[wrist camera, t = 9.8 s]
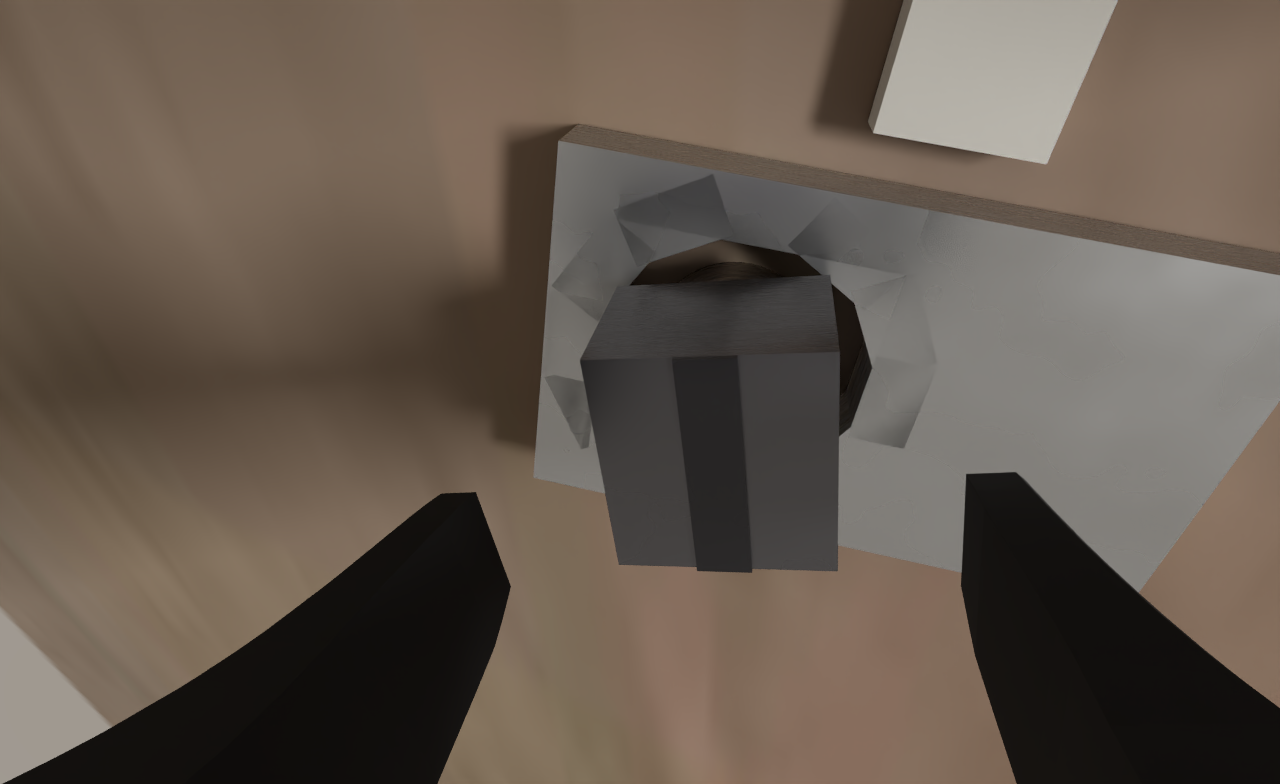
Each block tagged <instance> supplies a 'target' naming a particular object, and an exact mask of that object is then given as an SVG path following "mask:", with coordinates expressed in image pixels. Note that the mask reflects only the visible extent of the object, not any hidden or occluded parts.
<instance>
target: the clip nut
mask: <svg viewBox="0 0 1280 784" xmlns="http://www.w3.org/2000/svg"><path fill="white" fill-rule="evenodd" d="M580 364H581V370H582V375H583V380H584V385H585V391H586V396H587V401H588V406H589V411H590V417H591V422H592V427H593V432H594V437H595V443H596V448H597V453H598V458H599V463H600V469H601V474H602V479H603V484H604V489H605V495H606V500H607V505H608V510H609V516H610V521H611V526H612V531H613V536H614V542H615V547H616V552H617V557H618V562H619V565H647V566H680V567H697V571H715V572H748V573H752V569H780V570H813V571H838V488H839V396H840V348H839V340H838V332H837V324H836V317H835V309H834V301H833V293H832V285H831V277H830V275H819V276H800V277H783V276H781V275H780V274H778V273H776V272H774V271H772V270H770V269H767V268H765V267H762V266H758V265H754V264H750V263H742V262H727V263H719V264H715V265H711V266H707V267H704V268H702V269H699V270H697V271H695V272H693V273H691V274H690V275H688V276H687V277H685V278H684V279H683V280H681V281H680V282H679V283H671V284H652V285H634V286H617V288H616V290H615V292H614V294H613V295H612V297H611V299H610V301H609V303H608V305H607V307H606V309H605V311H604V313H603V315H602V317H601V319H600V321H599V323H598V325H597V327H596V329H595V331H594V333H593V335H592V337H591V339H590V341H589V343H588V345H587V347H586V349H585V351H584V353H583V355H582V357H581V359H580Z"/></svg>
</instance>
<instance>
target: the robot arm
mask: <svg viewBox="0 0 1280 784" xmlns="http://www.w3.org/2000/svg"><path fill="white" fill-rule="evenodd" d="M961 587H962V593H963V598H964V603H965V608H966V613H967V618H968V624H969V628H970V633H971V638H972V643H973V648H974V652H975V657H976V660H977V663H978V666H979V669H980V672H981V675H982V679H983V682H984V685H985V688H986V691H987V694H988V697H989V700H990V703H991V706H992V710H993V713H994V716H995V719H996V722H997V725H998V728H999V731H1000V734H1001V737H1002V740H1003V743H1004V746H1005V749H1006V752H1007V755H1008V758H1009V761H1010V764H1011V767H1012V771H1013V774H1014V777H1015V780H1016V783H1017V784H1280V708H1279V707H1278V706H1276V705H1275V704H1274V703H1272V702H1271V701H1270V700H1268V699H1267V698H1266V697H1264V696H1263V695H1261V694H1260V693H1259V692H1257V691H1256V690H1255V689H1253V688H1252V687H1251V686H1249V685H1248V684H1247V683H1245V682H1244V681H1243V680H1242V679H1240V678H1239V677H1238V676H1236V675H1235V674H1234V673H1233V672H1231V671H1230V670H1229V669H1228V668H1226V667H1225V666H1224V665H1223V664H1221V663H1220V662H1219V661H1218V660H1216V659H1215V658H1214V657H1213V656H1211V655H1210V654H1209V653H1208V652H1206V651H1205V650H1204V649H1203V648H1202V647H1200V646H1199V645H1198V644H1197V643H1196V642H1195V641H1193V640H1192V639H1191V638H1190V637H1189V636H1187V635H1186V634H1185V633H1184V632H1183V631H1182V630H1180V629H1179V628H1178V627H1177V626H1176V625H1174V624H1173V623H1172V622H1171V621H1170V620H1169V619H1167V618H1166V617H1165V616H1164V615H1163V614H1162V613H1161V612H1159V611H1158V610H1157V609H1156V608H1155V607H1154V606H1153V605H1152V604H1150V603H1149V602H1148V601H1147V600H1146V599H1145V598H1144V597H1143V596H1141V595H1140V594H1139V593H1138V592H1137V591H1136V590H1135V589H1134V588H1133V587H1132V586H1131V585H1130V584H1129V583H1128V582H1126V581H1125V580H1124V579H1123V578H1122V577H1121V576H1120V575H1119V574H1118V573H1117V572H1116V571H1115V570H1114V569H1113V568H1111V567H1110V566H1109V565H1108V564H1107V563H1106V562H1105V561H1104V560H1103V559H1102V558H1101V557H1100V556H1099V555H1098V554H1097V553H1096V552H1095V551H1094V550H1093V549H1092V548H1091V547H1090V546H1088V545H1087V544H1086V543H1085V542H1084V541H1083V540H1082V539H1081V538H1080V537H1079V536H1078V535H1077V534H1076V533H1075V531H1074V530H1073V529H1072V528H1071V527H1070V526H1069V525H1068V524H1067V523H1066V522H1065V521H1064V520H1063V519H1062V518H1061V517H1060V516H1059V515H1058V514H1057V513H1056V512H1055V511H1054V510H1053V509H1052V508H1051V507H1050V506H1049V505H1048V504H1047V503H1046V502H1045V501H1044V499H1043V498H1042V497H1041V496H1040V495H1039V494H1038V493H1037V492H1036V491H1035V490H1034V489H1033V488H1032V487H1031V486H1030V485H1029V484H1028V482H1027V481H1026V480H1025V479H1024V478H1022V477H1021V476H1020V475H1019V474H1018V473H1017V472H1003V473H976V474H966V487H965V509H964V531H963V553H962V575H961ZM510 588H511V586H510V583H509V580H508V578H507V575H506V572H505V570H504V567H503V564H502V561H501V559H500V556H499V553H498V551H497V548H496V545H495V543H494V540H493V537H492V535H491V532H490V529H489V527H488V524H487V521H486V518H485V516H484V513H483V510H482V508H481V505H480V502H479V500H478V497H477V494H476V492H471V493H445V494H440V495H439V496H437V497H436V498H434V499H433V500H432V501H430V502H429V503H427V504H426V505H425V506H423V507H422V508H421V509H420V510H418V511H417V512H416V513H414V514H413V515H412V516H411V517H409V518H408V519H407V520H406V521H404V522H403V523H402V524H401V525H399V526H398V527H397V528H396V529H395V530H393V531H392V532H391V533H390V534H388V535H387V536H386V537H385V538H384V539H382V540H381V541H380V542H379V543H377V544H376V545H375V546H374V547H373V548H371V549H370V550H369V551H368V552H366V553H365V554H364V555H363V556H361V557H360V558H359V559H358V560H357V561H355V562H354V563H353V564H352V565H350V566H349V567H348V568H347V569H345V570H344V571H343V572H342V573H341V574H339V575H338V576H337V577H336V578H334V579H333V580H332V581H331V582H329V583H328V584H327V585H325V586H324V587H323V588H322V589H320V590H319V591H318V592H316V593H315V594H314V595H312V596H311V597H310V598H308V599H307V600H306V601H304V602H303V603H302V604H300V605H299V606H298V607H296V608H295V609H294V610H293V611H291V612H290V613H289V614H287V615H286V616H285V617H283V618H282V619H281V620H279V621H278V622H277V623H275V624H274V625H273V626H271V627H270V628H269V629H267V630H266V631H265V632H263V633H262V634H260V635H259V636H258V637H256V638H255V639H253V640H252V641H250V642H249V643H248V644H246V645H245V646H243V647H242V648H240V649H239V650H237V651H236V652H234V653H233V654H231V655H230V656H228V657H227V658H225V659H224V660H222V661H221V662H219V663H218V664H216V665H215V666H213V667H212V668H210V669H209V670H207V671H205V672H204V673H202V674H201V675H199V676H198V677H196V678H195V679H193V680H192V681H190V682H188V683H187V684H185V685H184V686H182V687H180V688H179V689H177V690H175V691H173V692H172V693H170V694H168V695H167V696H165V697H163V698H161V699H160V700H158V701H156V702H155V703H153V704H151V705H149V706H148V707H146V708H144V709H143V710H141V711H139V712H137V713H136V714H134V715H132V716H130V717H129V718H127V719H125V720H124V721H122V722H120V723H118V724H117V725H115V726H113V727H112V728H110V729H108V730H107V731H105V732H103V733H101V734H99V735H97V736H95V737H94V738H92V739H90V740H88V741H86V742H84V743H82V744H80V745H79V746H76V747H75V748H73V749H71V750H69V751H67V752H65V753H63V754H61V755H59V756H57V757H56V758H54V759H52V760H50V761H48V762H46V763H44V764H42V765H40V766H38V767H36V768H33V769H32V770H29V771H27V772H25V773H23V774H21V775H19V776H17V777H16V778H13V779H12V780H10V781H7V782H5V783H3V784H437V783H438V781H439V779H440V776H441V774H442V771H443V769H444V767H445V764H446V762H447V760H448V757H449V755H450V753H451V750H452V748H453V745H454V743H455V741H456V738H457V736H458V734H459V731H460V729H461V727H462V724H463V722H464V719H465V717H466V715H467V712H468V710H469V708H470V705H471V703H472V701H473V698H474V696H475V694H476V691H477V689H478V686H479V684H480V681H481V679H482V677H483V674H484V672H485V669H486V667H487V664H488V662H489V660H490V657H491V654H492V652H493V649H494V647H495V644H496V640H497V637H498V633H499V630H500V626H501V623H502V620H503V616H504V612H505V608H506V604H507V600H508V596H509V592H510Z"/></svg>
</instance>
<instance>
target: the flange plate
mask: <svg viewBox="0 0 1280 784" xmlns="http://www.w3.org/2000/svg"><path fill="white" fill-rule="evenodd" d="M720 239H721V240H726V241H731V242H736V243H742V244H747V245H752V246H757V247H762V248H767V249H773V250H778V251H783V252H788V253H793V254H798V255H799V256H800V257H802V258H803V259H804V260H805V261H806V262H807V263H809V264H810V265H811V266H812V267H813V268H814V269H815V270H817V271H818V272H819V273H820V274H821V275H830V277H831V283H832V284H833V285H834V286H835V287H836V288H837V289H839V290H840V291H841V292H842V293H843V294H844V295H846V296H847V297H848V298H849V299H850V300H851V301H852V302H854V304H855V307H856V311H857V314H858V318H859V322H860V325H861V329H862V332H863V336H864V340H863V343H862V346H861V349H860V352H859V355H858V358H857V361H856V364H855V367H854V369H853V372H852V375H851V378H850V381H849V384H848V387H847V390H846V391H845V392H844V393H843V394H842V395H840V396H839V488H838V545H839V546H844V547H848V548H853V549H857V550H862V551H866V552H871V553H875V554H880V555H884V556H889V557H893V558H898V559H902V560H907V561H911V562H916V563H920V564H925V565H929V566H934V567H938V568H943V569H947V570H952V571H956V572H961V573H962V553H963V531H964V509H965V487H966V474H976V473H1003V472H1017V473H1018V474H1019V475H1020V476H1021V477H1022V478H1024V479H1025V480H1026V481H1027V482H1028V484H1029V485H1030V486H1031V487H1032V488H1033V489H1034V490H1035V491H1036V492H1037V493H1038V494H1039V495H1040V496H1041V497H1042V498H1043V499H1044V501H1045V502H1046V503H1047V504H1048V505H1049V506H1050V507H1051V508H1052V509H1053V510H1054V511H1055V512H1056V513H1057V514H1058V515H1059V516H1060V517H1061V518H1062V519H1063V520H1064V521H1065V522H1066V523H1067V524H1068V525H1069V526H1070V527H1071V528H1072V529H1073V530H1074V531H1075V533H1076V534H1077V535H1078V536H1079V537H1080V538H1081V539H1082V540H1083V541H1084V542H1085V543H1086V544H1087V545H1088V546H1090V547H1091V548H1092V549H1093V550H1094V551H1095V552H1096V553H1097V554H1098V555H1099V556H1100V557H1101V558H1102V559H1103V560H1104V561H1105V562H1106V563H1107V564H1108V565H1109V566H1110V567H1111V568H1113V569H1114V570H1115V571H1116V572H1117V573H1118V574H1119V575H1120V576H1121V577H1122V578H1123V579H1124V580H1125V581H1126V582H1128V583H1129V584H1130V585H1131V586H1132V587H1133V588H1134V589H1135V590H1136V591H1137V592H1138V593H1139V592H1140V590H1141V589H1142V587H1143V586H1144V585H1145V583H1146V582H1147V581H1148V579H1149V578H1150V577H1151V575H1152V574H1153V572H1154V571H1155V570H1156V568H1157V567H1158V566H1159V564H1160V563H1161V562H1162V560H1163V559H1164V558H1165V556H1166V555H1167V553H1168V552H1169V551H1170V549H1171V548H1172V547H1173V545H1174V544H1175V543H1176V541H1177V540H1178V538H1179V537H1180V536H1181V534H1182V533H1183V532H1184V530H1185V529H1186V528H1187V526H1188V525H1189V524H1190V522H1191V521H1192V519H1193V518H1194V517H1195V515H1196V514H1197V513H1198V511H1199V510H1200V509H1201V507H1202V506H1203V504H1204V503H1205V502H1206V500H1207V499H1208V498H1209V496H1210V495H1211V494H1212V492H1213V491H1214V490H1215V488H1216V487H1217V485H1218V484H1219V483H1220V481H1221V480H1222V479H1223V477H1224V476H1225V475H1226V473H1227V472H1228V470H1229V469H1230V468H1231V466H1232V465H1233V464H1234V462H1235V461H1236V460H1237V458H1238V457H1239V456H1240V454H1241V453H1242V451H1243V450H1244V449H1245V447H1246V446H1247V445H1248V443H1249V442H1250V441H1251V439H1252V438H1253V437H1254V435H1255V434H1256V432H1257V431H1258V430H1259V428H1260V427H1261V426H1262V424H1263V423H1264V422H1265V420H1266V419H1267V417H1268V416H1269V415H1270V413H1271V412H1272V411H1273V409H1274V408H1275V407H1276V405H1277V404H1278V403H1279V401H1280V254H1279V253H1274V252H1268V251H1263V250H1258V249H1252V248H1247V247H1241V246H1236V245H1231V244H1225V243H1220V242H1214V241H1209V240H1203V239H1198V238H1193V237H1187V236H1182V235H1176V234H1171V233H1166V232H1160V231H1155V230H1149V229H1144V228H1138V227H1133V226H1128V225H1122V224H1117V223H1111V222H1106V221H1101V220H1095V219H1090V218H1084V217H1079V216H1073V215H1068V214H1063V213H1057V212H1052V211H1046V210H1041V209H1036V208H1030V207H1025V206H1019V205H1014V204H1008V203H1003V202H998V201H992V200H987V199H981V198H976V197H970V196H965V195H960V194H954V193H949V192H943V191H938V190H933V189H927V188H922V187H916V186H911V185H905V184H900V183H895V182H889V181H884V180H878V179H873V178H868V177H862V176H857V175H851V174H846V173H840V172H835V171H830V170H824V169H819V168H813V167H808V166H803V165H797V164H792V163H786V162H781V161H775V160H770V159H765V158H759V157H754V156H748V155H743V154H738V153H732V152H727V151H721V150H716V149H710V148H705V147H700V146H694V145H689V144H683V143H678V142H673V141H667V140H662V139H656V138H651V137H645V136H640V135H635V134H629V133H624V132H618V131H613V130H607V129H602V128H597V127H591V126H586V125H580V124H578V125H577V126H575V127H574V128H573V129H572V130H571V131H569V132H568V133H567V134H566V135H565V136H564V137H562V138H561V139H560V140H559V141H558V153H557V167H556V180H555V194H554V207H553V221H552V234H551V248H550V261H549V275H548V288H547V302H546V315H545V329H544V342H543V356H542V369H541V383H540V396H539V410H538V423H537V437H536V450H535V464H534V477H533V478H538V479H542V480H547V481H551V482H556V483H560V484H565V485H569V486H574V487H578V488H583V489H587V490H592V491H596V492H601V493H605V489H604V484H603V479H602V474H601V469H600V463H599V458H598V453H597V448H596V443H595V437H594V432H593V427H592V422H591V417H590V411H589V406H588V401H587V396H586V391H585V385H584V380H583V375H582V370H581V364H580V359H581V357H582V355H583V353H584V351H585V349H586V347H587V345H588V343H589V341H590V339H591V337H592V335H593V333H594V331H595V329H596V327H597V325H598V323H599V321H600V319H601V317H602V315H603V313H604V311H605V309H606V307H607V305H608V303H609V301H610V299H611V297H612V295H613V294H614V292H615V290H616V288H617V286H629V285H630V284H631V283H632V282H633V281H634V279H635V278H636V277H637V276H638V275H639V274H640V273H641V271H642V270H643V269H644V268H645V267H646V266H647V264H648V263H650V262H653V261H656V260H659V259H662V258H665V257H668V256H671V255H674V254H677V253H680V252H683V251H687V250H690V249H693V248H696V247H699V246H702V245H705V244H708V243H711V242H714V241H717V240H720Z"/></svg>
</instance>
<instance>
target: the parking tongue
mask: <svg viewBox="0 0 1280 784" xmlns="http://www.w3.org/2000/svg"><path fill="white" fill-rule="evenodd" d="M1117 1H1118V0H903V4H902V7H901V10H900V14H899V17H898V21H897V24H896V27H895V31H894V34H893V38H892V41H891V44H890V48H889V51H888V55H887V58H886V61H885V65H884V68H883V72H882V75H881V78H880V82H879V85H878V89H877V92H876V95H875V99H874V102H873V106H872V109H871V112H870V116H869V119H868V123H869V125H870V128H871V130H872V132H873V133H876V134H881V135H887V136H892V137H898V138H903V139H909V140H914V141H920V142H926V143H931V144H937V145H942V146H948V147H953V148H959V149H964V150H970V151H976V152H981V153H987V154H992V155H998V156H1003V157H1009V158H1014V159H1020V160H1025V161H1031V162H1037V163H1042V164H1047V162H1048V160H1049V158H1050V155H1051V153H1052V151H1053V148H1054V146H1055V144H1056V141H1057V139H1058V137H1059V135H1060V132H1061V130H1062V128H1063V125H1064V123H1065V121H1066V118H1067V116H1068V114H1069V112H1070V109H1071V107H1072V105H1073V102H1074V100H1075V98H1076V96H1077V93H1078V91H1079V89H1080V86H1081V84H1082V82H1083V79H1084V77H1085V75H1086V73H1087V70H1088V68H1089V66H1090V63H1091V61H1092V59H1093V56H1094V54H1095V52H1096V50H1097V47H1098V45H1099V43H1100V40H1101V38H1102V36H1103V33H1104V31H1105V29H1106V27H1107V24H1108V22H1109V20H1110V17H1111V15H1112V13H1113V11H1114V8H1115V6H1116V4H1117Z"/></svg>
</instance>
